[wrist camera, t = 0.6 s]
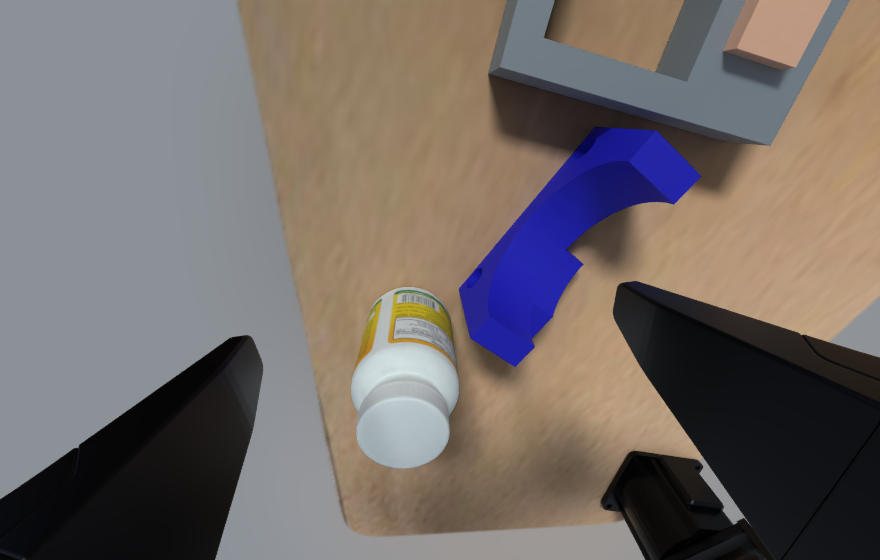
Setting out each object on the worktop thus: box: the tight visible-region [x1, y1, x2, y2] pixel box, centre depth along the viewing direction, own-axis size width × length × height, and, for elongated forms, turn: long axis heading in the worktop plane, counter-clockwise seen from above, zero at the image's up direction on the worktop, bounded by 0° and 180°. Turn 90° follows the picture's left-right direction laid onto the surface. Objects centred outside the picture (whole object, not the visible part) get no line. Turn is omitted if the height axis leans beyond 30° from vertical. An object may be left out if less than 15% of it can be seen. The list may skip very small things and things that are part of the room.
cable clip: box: [459, 127, 701, 367], centre depth 20 cm, size 12×4×6 cm, turn 143°
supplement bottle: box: [351, 287, 459, 468], centre depth 20 cm, size 5×5×10 cm
